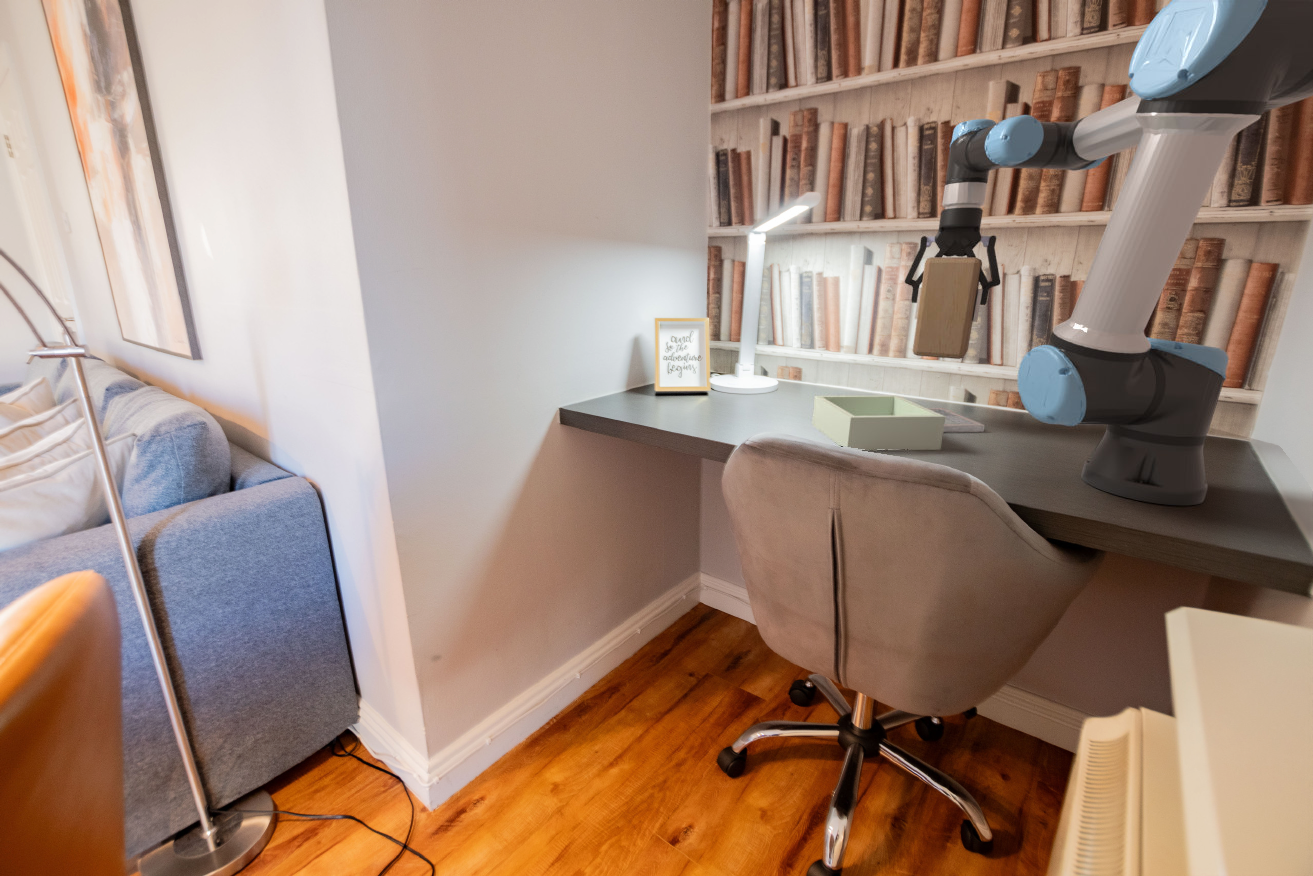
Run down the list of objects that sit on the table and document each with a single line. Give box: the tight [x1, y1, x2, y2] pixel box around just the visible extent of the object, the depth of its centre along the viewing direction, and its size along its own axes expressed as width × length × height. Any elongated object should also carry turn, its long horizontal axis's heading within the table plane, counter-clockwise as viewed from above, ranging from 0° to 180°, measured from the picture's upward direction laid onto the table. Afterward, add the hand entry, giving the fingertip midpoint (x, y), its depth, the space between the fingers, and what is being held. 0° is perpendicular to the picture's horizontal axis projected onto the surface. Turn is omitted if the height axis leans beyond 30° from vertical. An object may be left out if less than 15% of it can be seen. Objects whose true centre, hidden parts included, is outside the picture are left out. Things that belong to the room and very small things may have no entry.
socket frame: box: [926, 407, 986, 434], centre depth 127 cm, size 15×15×2 cm
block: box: [912, 256, 983, 360], centre depth 120 cm, size 10×10×20 cm
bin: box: [812, 394, 947, 452], centre depth 115 cm, size 18×18×6 cm
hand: (945, 320), depth 121 cm, fingers closed on block, 10 cm apart
